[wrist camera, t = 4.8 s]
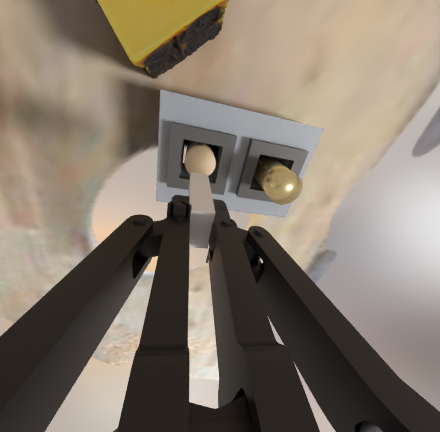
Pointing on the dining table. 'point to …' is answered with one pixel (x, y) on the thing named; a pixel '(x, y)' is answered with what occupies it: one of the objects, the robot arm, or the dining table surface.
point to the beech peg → (199, 158)
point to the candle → (163, 29)
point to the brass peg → (277, 181)
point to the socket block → (229, 150)
